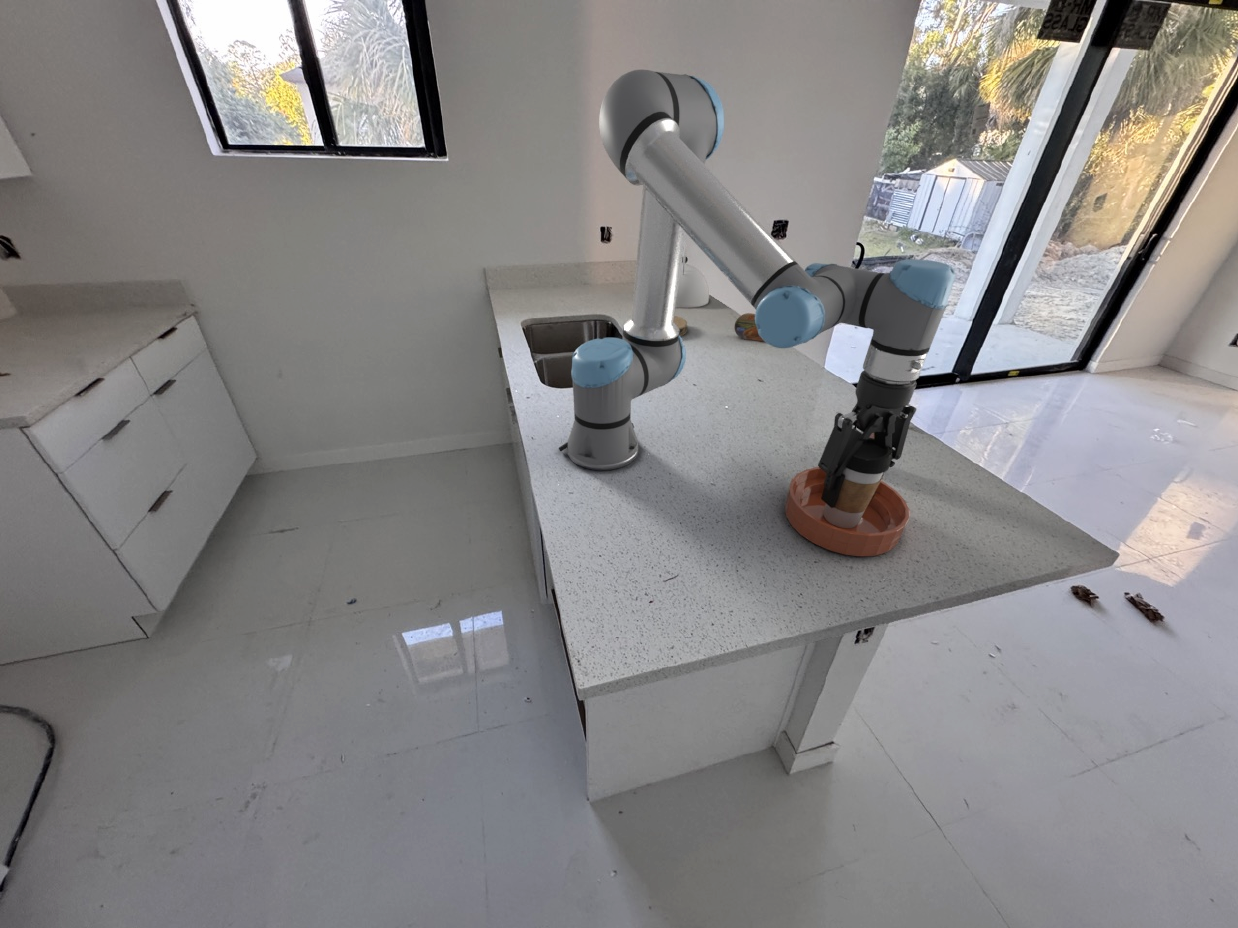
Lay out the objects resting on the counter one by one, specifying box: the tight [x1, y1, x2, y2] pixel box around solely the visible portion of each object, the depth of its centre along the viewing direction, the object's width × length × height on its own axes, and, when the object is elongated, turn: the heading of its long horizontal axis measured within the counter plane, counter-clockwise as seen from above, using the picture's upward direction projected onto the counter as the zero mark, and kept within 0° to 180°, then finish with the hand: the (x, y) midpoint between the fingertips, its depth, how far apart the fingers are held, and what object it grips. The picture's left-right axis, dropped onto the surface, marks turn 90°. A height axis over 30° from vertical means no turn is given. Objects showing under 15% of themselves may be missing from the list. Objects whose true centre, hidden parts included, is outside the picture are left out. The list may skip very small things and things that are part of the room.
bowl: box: [784, 466, 910, 557], centre depth 85 cm, size 19×19×5 cm
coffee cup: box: [824, 438, 893, 528], centre depth 82 cm, size 8×8×15 cm
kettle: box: [675, 240, 710, 309], centre depth 199 cm, size 25×23×23 cm
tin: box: [734, 312, 766, 343], centre depth 162 cm, size 15×3×8 cm, turn 68°
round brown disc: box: [674, 315, 688, 337], centre depth 171 cm, size 16×16×3 cm
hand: (847, 498), depth 84 cm, fingers closed on coffee cup, 7 cm apart
